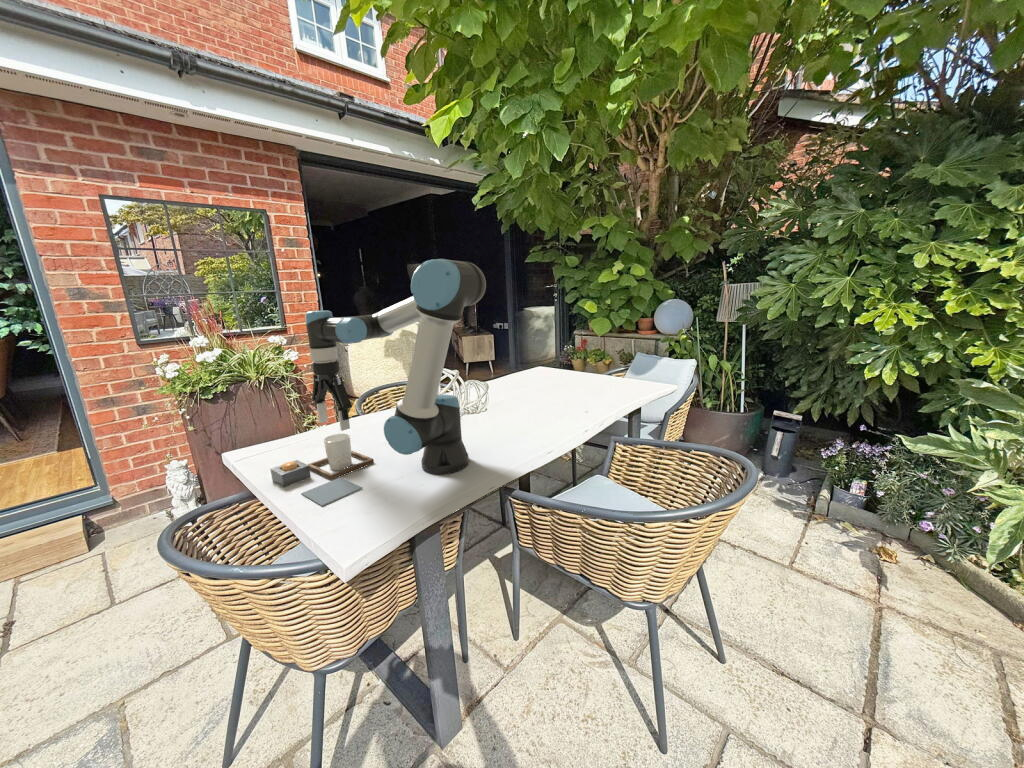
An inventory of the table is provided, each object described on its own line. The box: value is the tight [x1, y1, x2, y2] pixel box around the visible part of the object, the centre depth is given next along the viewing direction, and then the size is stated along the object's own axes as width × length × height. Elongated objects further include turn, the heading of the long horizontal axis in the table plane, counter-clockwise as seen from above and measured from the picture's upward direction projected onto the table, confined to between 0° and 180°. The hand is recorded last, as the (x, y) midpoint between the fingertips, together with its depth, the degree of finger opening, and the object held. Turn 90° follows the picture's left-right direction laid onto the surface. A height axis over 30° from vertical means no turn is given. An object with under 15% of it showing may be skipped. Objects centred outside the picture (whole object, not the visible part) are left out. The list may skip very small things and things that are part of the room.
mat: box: [300, 476, 363, 508], centre depth 114 cm, size 12×12×1 cm
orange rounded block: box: [281, 460, 297, 472], centre depth 123 cm, size 4×4×4 cm
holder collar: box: [307, 450, 375, 481], centre depth 131 cm, size 15×15×2 cm
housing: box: [270, 459, 311, 488], centre depth 123 cm, size 8×8×4 cm
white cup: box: [323, 433, 353, 471], centre depth 130 cm, size 8×8×10 cm
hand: (334, 425), depth 128 cm, fingers open, 13 cm apart
